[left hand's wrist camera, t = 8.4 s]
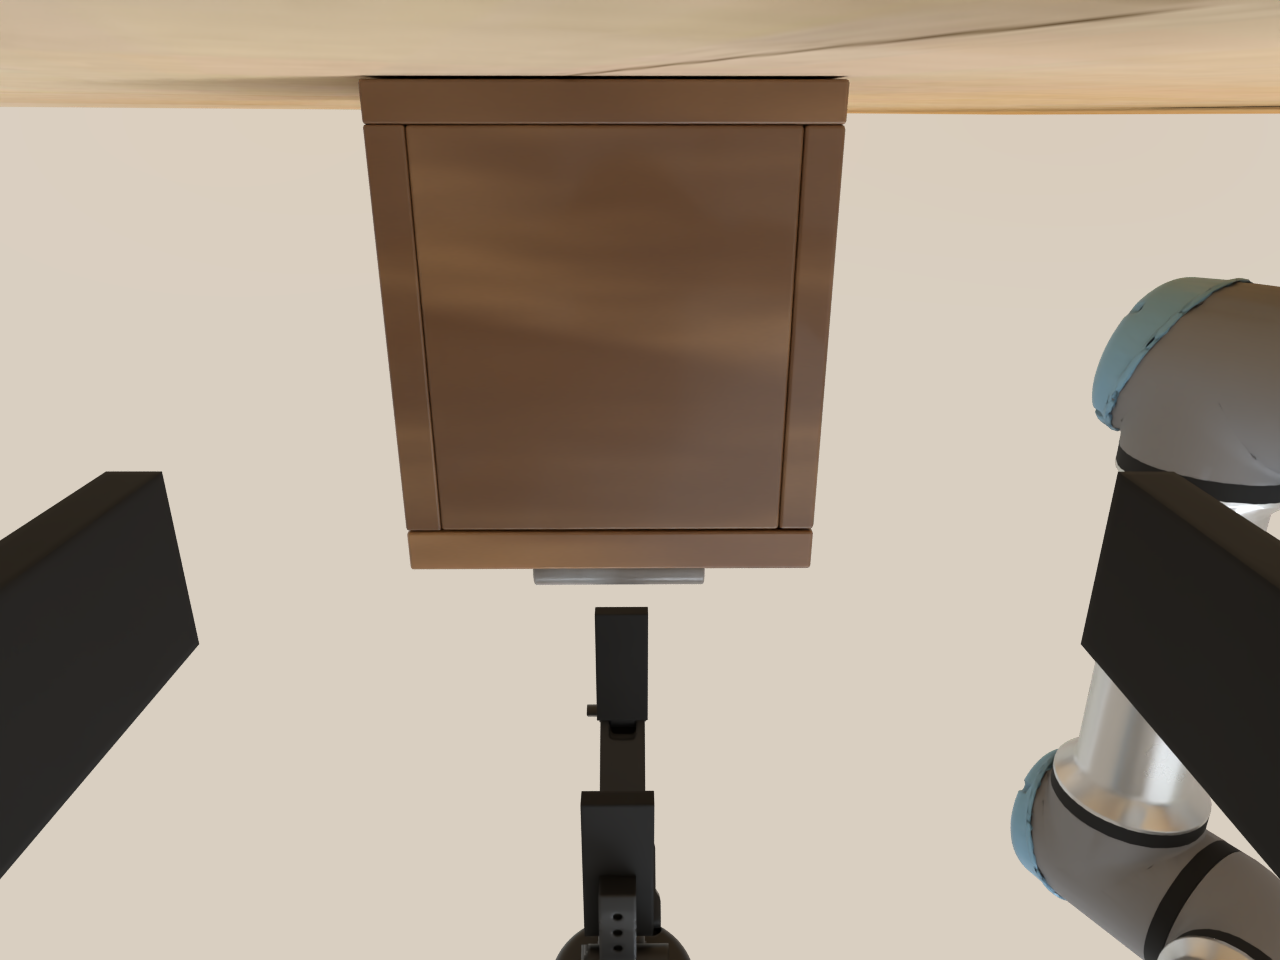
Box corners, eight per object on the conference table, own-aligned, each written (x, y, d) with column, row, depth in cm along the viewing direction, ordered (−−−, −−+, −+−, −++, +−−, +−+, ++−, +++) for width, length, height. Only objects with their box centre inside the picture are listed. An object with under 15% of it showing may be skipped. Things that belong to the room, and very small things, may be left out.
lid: (744, 376, 36) (736, 555, 39) (491, 377, 36) (503, 556, 39) (813, 531, 23) (792, 787, 26) (406, 533, 23) (434, 789, 26)
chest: (761, 96, 32) (747, 382, 35) (469, 96, 31) (488, 382, 35) (850, 79, 19) (813, 529, 23) (357, 78, 19) (405, 531, 23)
